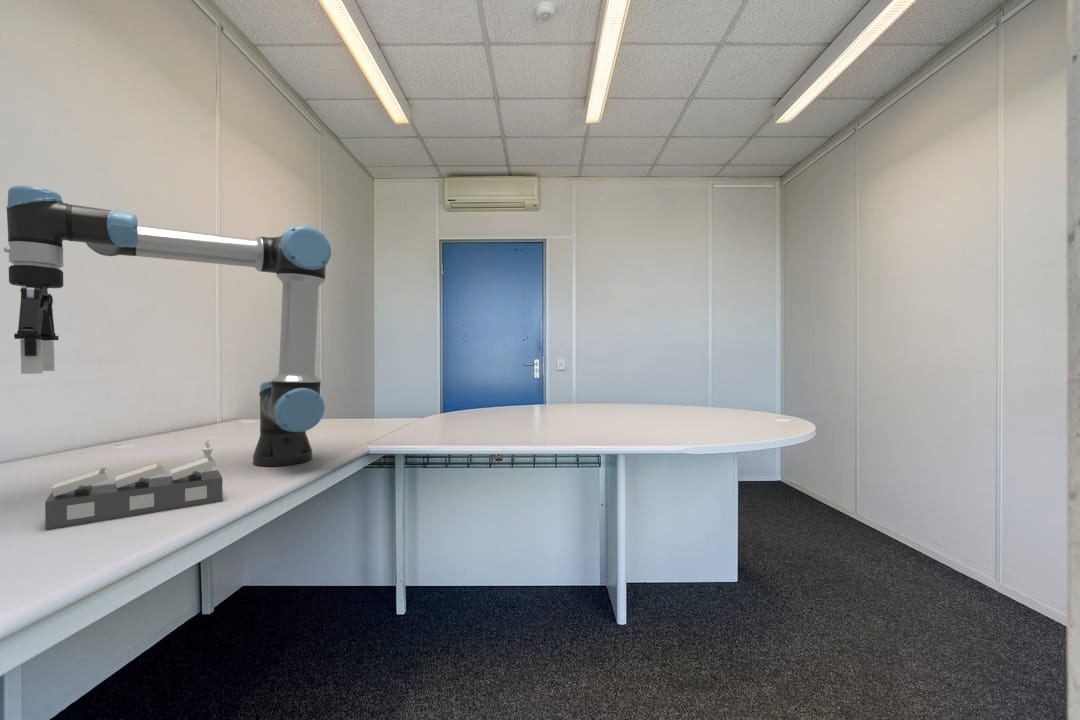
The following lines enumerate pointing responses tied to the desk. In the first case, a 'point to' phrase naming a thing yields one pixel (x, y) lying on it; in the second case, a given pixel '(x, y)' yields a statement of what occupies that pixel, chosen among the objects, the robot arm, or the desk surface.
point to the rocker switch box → (131, 499)
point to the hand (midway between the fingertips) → (38, 372)
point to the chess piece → (207, 452)
